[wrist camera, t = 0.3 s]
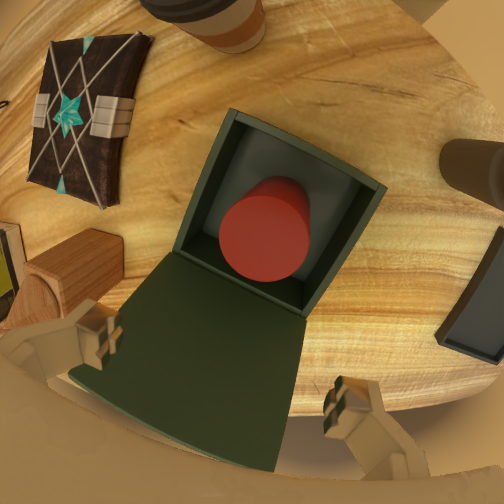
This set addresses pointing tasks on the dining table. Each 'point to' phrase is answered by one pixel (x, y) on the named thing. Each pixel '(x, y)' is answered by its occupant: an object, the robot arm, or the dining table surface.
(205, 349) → the chest lid
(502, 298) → the tray
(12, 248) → the tea box
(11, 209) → the dining table surface
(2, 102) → the fountain pen
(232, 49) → the coffee cup
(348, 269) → the dining table surface
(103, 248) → the decorative item
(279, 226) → the red cylinder
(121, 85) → the book
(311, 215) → the chest
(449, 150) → the bottle
